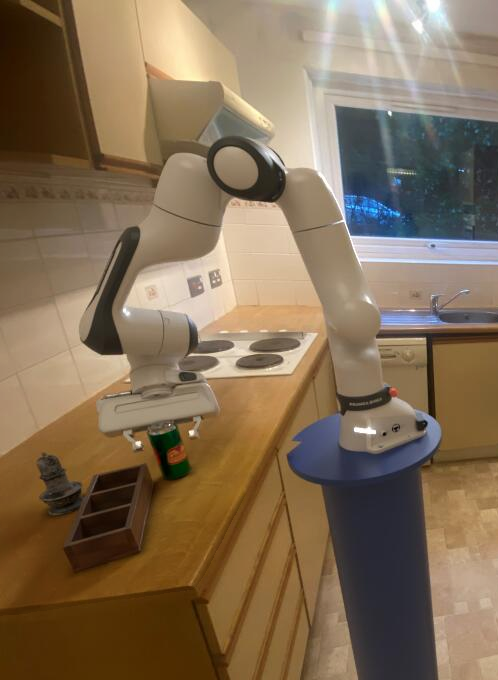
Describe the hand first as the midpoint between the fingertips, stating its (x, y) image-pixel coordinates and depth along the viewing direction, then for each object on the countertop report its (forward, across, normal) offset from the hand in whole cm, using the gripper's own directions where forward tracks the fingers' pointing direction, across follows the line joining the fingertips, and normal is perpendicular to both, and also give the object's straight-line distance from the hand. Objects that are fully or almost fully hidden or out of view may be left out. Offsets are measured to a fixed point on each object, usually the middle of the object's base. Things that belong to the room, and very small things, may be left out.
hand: (167, 444), depth 90 cm
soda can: (+5, 0, +5) cm, 7 cm away
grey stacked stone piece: (+7, -17, +4) cm, 19 cm away
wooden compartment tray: (+14, -8, -4) cm, 17 cm away
